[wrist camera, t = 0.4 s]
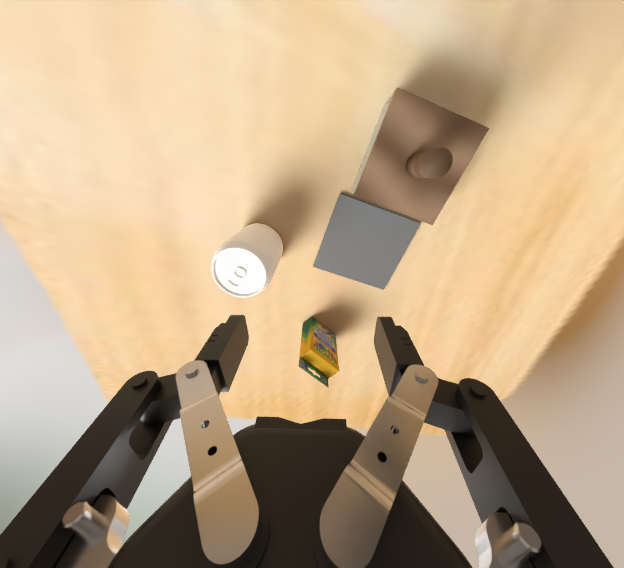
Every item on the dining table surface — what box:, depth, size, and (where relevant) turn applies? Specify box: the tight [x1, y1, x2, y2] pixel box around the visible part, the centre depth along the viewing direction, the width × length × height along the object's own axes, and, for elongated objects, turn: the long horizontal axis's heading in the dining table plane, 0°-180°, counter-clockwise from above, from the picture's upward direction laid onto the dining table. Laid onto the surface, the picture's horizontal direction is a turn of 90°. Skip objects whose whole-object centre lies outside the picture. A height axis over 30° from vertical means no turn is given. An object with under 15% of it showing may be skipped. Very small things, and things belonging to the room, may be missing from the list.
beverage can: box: [212, 223, 283, 297], centre depth 34 cm, size 8×8×12 cm
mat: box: [313, 194, 420, 290], centre depth 39 cm, size 13×14×1 cm
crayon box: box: [299, 317, 339, 387], centre depth 43 cm, size 7×3×12 cm, turn 45°
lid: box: [354, 88, 489, 225], centre depth 26 cm, size 12×12×6 cm
